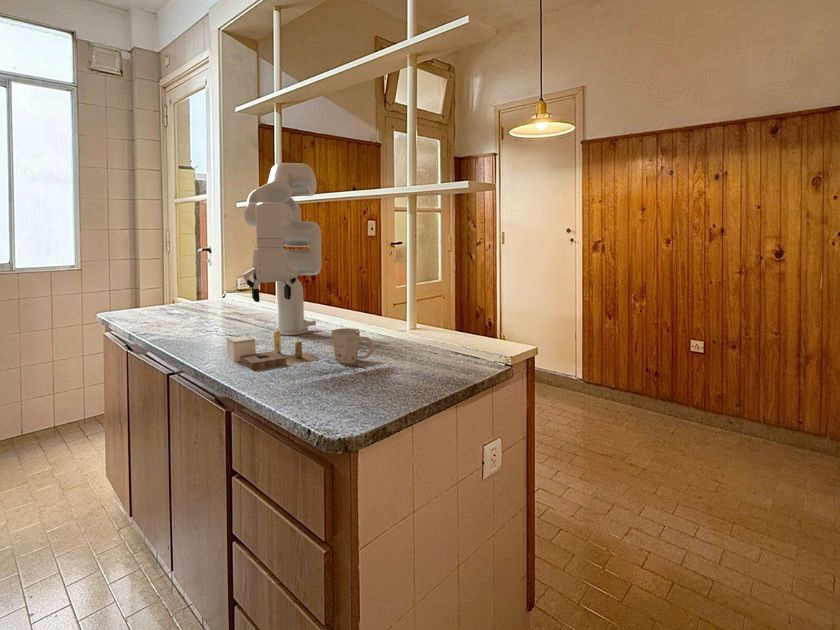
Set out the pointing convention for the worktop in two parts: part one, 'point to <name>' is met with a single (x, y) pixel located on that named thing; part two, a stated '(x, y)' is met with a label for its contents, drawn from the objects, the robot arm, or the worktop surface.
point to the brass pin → (277, 342)
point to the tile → (304, 359)
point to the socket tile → (263, 360)
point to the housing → (240, 347)
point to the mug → (348, 345)
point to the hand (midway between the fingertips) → (272, 300)
